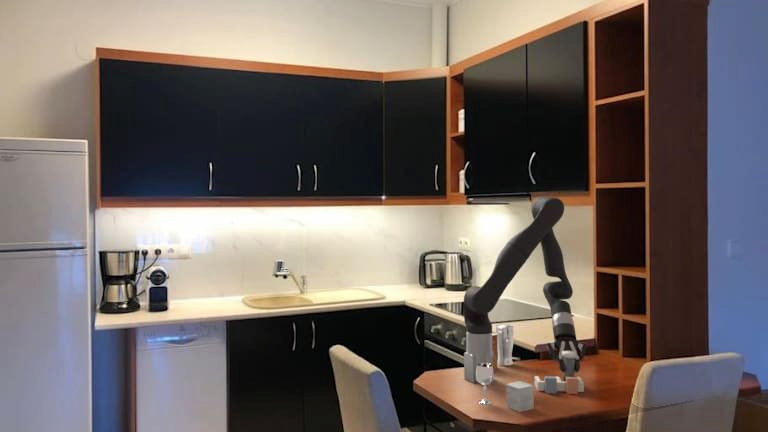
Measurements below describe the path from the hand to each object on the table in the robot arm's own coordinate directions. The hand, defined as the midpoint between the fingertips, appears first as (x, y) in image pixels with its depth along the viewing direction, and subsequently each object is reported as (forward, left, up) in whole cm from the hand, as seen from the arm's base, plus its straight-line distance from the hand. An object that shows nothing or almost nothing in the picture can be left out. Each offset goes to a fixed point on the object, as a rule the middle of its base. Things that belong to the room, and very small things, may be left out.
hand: (570, 370), depth 208 cm
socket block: (-3, +2, -6) cm, 7 cm away
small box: (-11, +35, -7) cm, 38 cm away
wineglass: (-33, +1, -7) cm, 34 cm away
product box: (-26, -8, -7) cm, 28 cm away
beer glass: (-1, +36, -7) cm, 37 cm away
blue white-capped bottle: (+1, +2, -4) cm, 5 cm away
